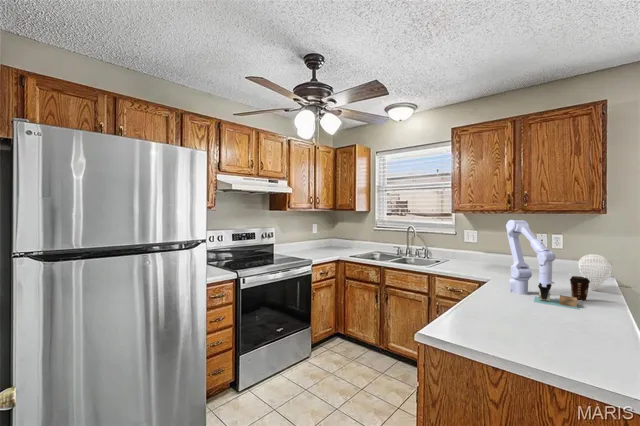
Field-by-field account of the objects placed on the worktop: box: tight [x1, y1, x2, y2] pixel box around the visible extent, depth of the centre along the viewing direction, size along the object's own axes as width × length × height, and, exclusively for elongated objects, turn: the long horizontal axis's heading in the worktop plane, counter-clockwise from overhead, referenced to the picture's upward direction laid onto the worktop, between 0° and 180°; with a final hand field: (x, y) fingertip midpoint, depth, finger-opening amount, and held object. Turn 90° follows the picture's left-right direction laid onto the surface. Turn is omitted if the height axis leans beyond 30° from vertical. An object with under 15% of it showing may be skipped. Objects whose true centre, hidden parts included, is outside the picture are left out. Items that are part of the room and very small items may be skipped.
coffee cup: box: [569, 275, 591, 302], centre depth 174 cm, size 9×8×13 cm
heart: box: [578, 253, 613, 291], centre depth 198 cm, size 28×16×22 cm, turn 140°
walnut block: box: [559, 295, 578, 307], centre depth 163 cm, size 7×7×4 cm
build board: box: [533, 296, 580, 310], centre depth 166 cm, size 19×14×1 cm
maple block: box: [538, 290, 551, 301], centre depth 169 cm, size 4×4×4 cm
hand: (544, 297), depth 169 cm, fingers closed on maple block, 4 cm apart
